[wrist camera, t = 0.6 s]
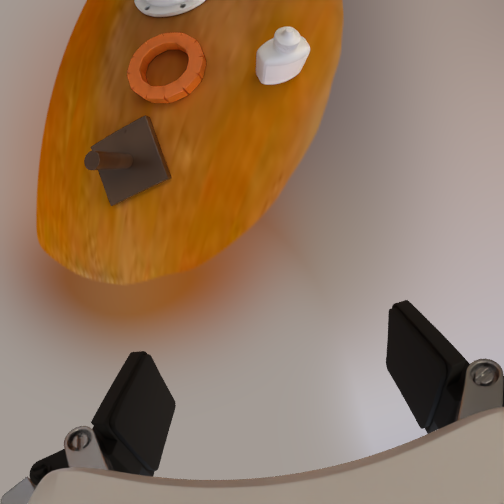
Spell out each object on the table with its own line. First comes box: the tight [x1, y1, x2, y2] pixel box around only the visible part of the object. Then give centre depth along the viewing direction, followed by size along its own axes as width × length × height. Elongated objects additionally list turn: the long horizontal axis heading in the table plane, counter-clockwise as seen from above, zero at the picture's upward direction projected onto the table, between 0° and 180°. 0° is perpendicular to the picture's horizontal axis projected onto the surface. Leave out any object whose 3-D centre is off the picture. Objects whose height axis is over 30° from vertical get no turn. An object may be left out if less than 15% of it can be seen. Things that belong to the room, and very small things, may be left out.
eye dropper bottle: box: [256, 27, 310, 85], centre depth 24 cm, size 4×6×12 cm
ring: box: [127, 32, 206, 103], centre depth 28 cm, size 10×10×2 cm
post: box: [85, 116, 171, 206], centre depth 28 cm, size 9×9×10 cm
